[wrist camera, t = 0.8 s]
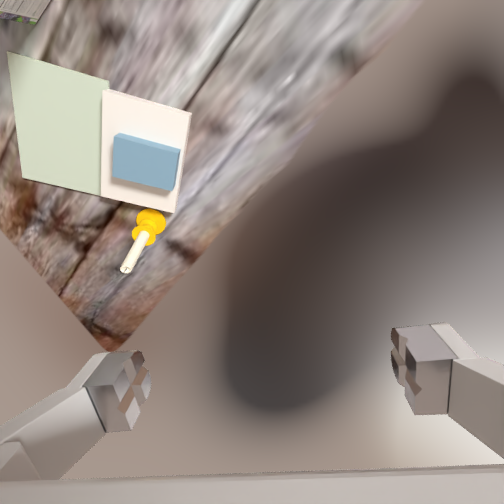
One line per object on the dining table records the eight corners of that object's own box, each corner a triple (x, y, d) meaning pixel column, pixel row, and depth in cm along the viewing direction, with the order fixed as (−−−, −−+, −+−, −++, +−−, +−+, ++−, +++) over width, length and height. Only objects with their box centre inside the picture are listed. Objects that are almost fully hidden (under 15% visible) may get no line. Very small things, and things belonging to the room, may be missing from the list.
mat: (8, 51, 41) (6, 51, 40) (109, 81, 43) (108, 81, 43) (24, 176, 50) (22, 177, 50) (106, 195, 52) (105, 196, 52)
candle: (172, 223, 56) (151, 274, 43) (152, 238, 57) (126, 292, 44) (150, 202, 53) (120, 250, 40) (130, 219, 55) (96, 270, 42)
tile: (119, 132, 44) (113, 136, 42) (180, 149, 46) (177, 153, 44) (117, 171, 48) (112, 176, 45) (175, 185, 49) (172, 191, 47)
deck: (109, 88, 44) (102, 90, 41) (191, 113, 46) (189, 115, 44) (106, 190, 52) (100, 196, 50) (176, 207, 54) (174, 213, 52)
